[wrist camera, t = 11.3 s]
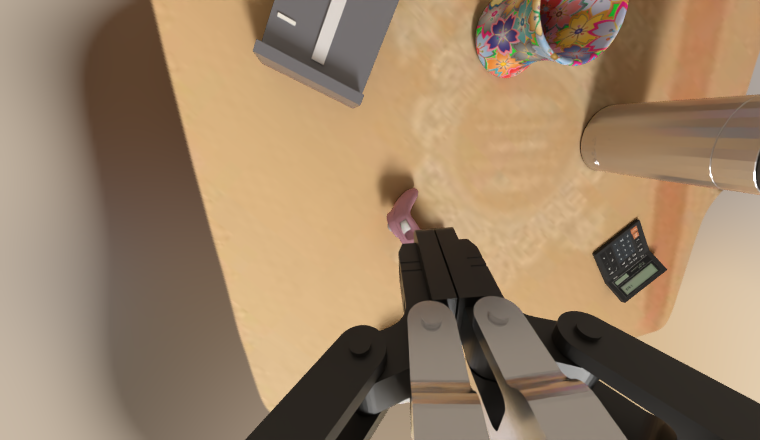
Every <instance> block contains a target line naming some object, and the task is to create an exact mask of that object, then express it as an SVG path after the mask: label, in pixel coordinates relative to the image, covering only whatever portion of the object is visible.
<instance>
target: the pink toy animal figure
mask: <svg viewBox="0 0 760 440" xmlns="http://www.w3.org/2000/svg"><path fill="white" fill-rule="evenodd" d="M417 196H418V190H417V189H415V188H412V189H408V190H407V191H405V192H404V193H403V194H402V195H401V196H400V197H399V198H398V200H397V201H396V202H395V204H394V206H393V208H392V210H391V212H389V213H388V214H387V221H388V229H389V230H390V231H391V232H393V234H394V235H395V236H396V237H398V238H399V239H400V241H401V242H402V244H405V243H414V230H421V229H420V228H419V227H418V225H417V224H416V222H415V220H414V219H413V218H412V216H411V214H410V212H411V208H412V206H413V204H414V202H415V200H416V199H417Z"/></svg>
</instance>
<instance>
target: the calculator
mask: <svg viewBox="0 0 760 440" xmlns="http://www.w3.org/2000/svg"><path fill="white" fill-rule="evenodd" d="M593 256H594V259H595V261H596V263H597V266H598V268H599V270H600V272H601V275H602V277H603V279H604V282H605V284H606V285H607V286H608V287H609V288H610V289H611V290H612V292H613V293H614V294H615V295H616V296H617V297H618V298H619V300H620V301H621V302H624V303H625V302H627V301H628V300H629V299H631V298H632V297H633V296H634V295H636V294H637V293H638V292H639V291H641V290H642V289H643V288H645V287H646V286H647V285H648V284H650V283H651V282H652V281H653V280H655V279H656V278H657V277H659V276H660V275H661V274H662V273H664V272H665V271H666V270H667V269H666V268H665V267H664V266H663V265H662V263H661V262H660V261H659V260H658V259H657V258H656V257H655V256H654V255H653V254H652V253H651V252H650V251H649V248H648V245H647V242H646V239H645V236H644V233H643V230H642V226H641V223H640V220H637V219H636V220H635V221H633V222H632V223H631V224H629V225H628V226H627V227H626V228H624V229H623V230H622V231H621V232H619V233H618V234H617V235H615V236H614V237H613V238H612V239H610V240H609V241H608V242H607V243H605V244H604V245H603V246H602V247H600V248H599V249H598V250H596V251H595V252H594V253H593Z"/></svg>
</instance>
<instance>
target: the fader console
mask: <svg viewBox="0 0 760 440" xmlns="http://www.w3.org/2000/svg"><path fill="white" fill-rule="evenodd" d="M398 1H399V0H274V3H273V6H272V10H271V13H270V16H269V19H268V23H267V26H266V29H265V32H264V35H263V39H262V42H261V41H259V40H257V39H256V42H255V45H254V49H253V52H254V53H255V55H256V56H257V57H258V59H259V60H260V61H261V63H262V64H264V65H266V66H268V67H270V68H272V69H274V70H276V71H278V72H280V73H283V74H285V75H287V76H289V77H291V78H293V79H295V80H297V81H299V82H301V83H303V84H305V85H307V86H309V87H311V88H313V89H315V90H317V91H319V92H321V93H323V94H325V95H327V96H329V97H331V98H333V99H335V100H337V101H339V102H341V103H343V104H345V105H347V106H349V107H351V108H355V107H357V106H360V104H361V102H362V99H363V97H364V95H363V94H362V93H363V90H364V88H365V85H366V83H367V80H368V77H369V75H370V72H371V70H372V67H373V65H374V62H375V60H376V57H377V55H378V52H379V50H380V47H381V45H382V42H383V39H384V37H385V34H386V32H387V29H388V27H389V24H390V22H391V19H392V17H393V14H394V12H395V9H396V7H397V4H398Z"/></svg>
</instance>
